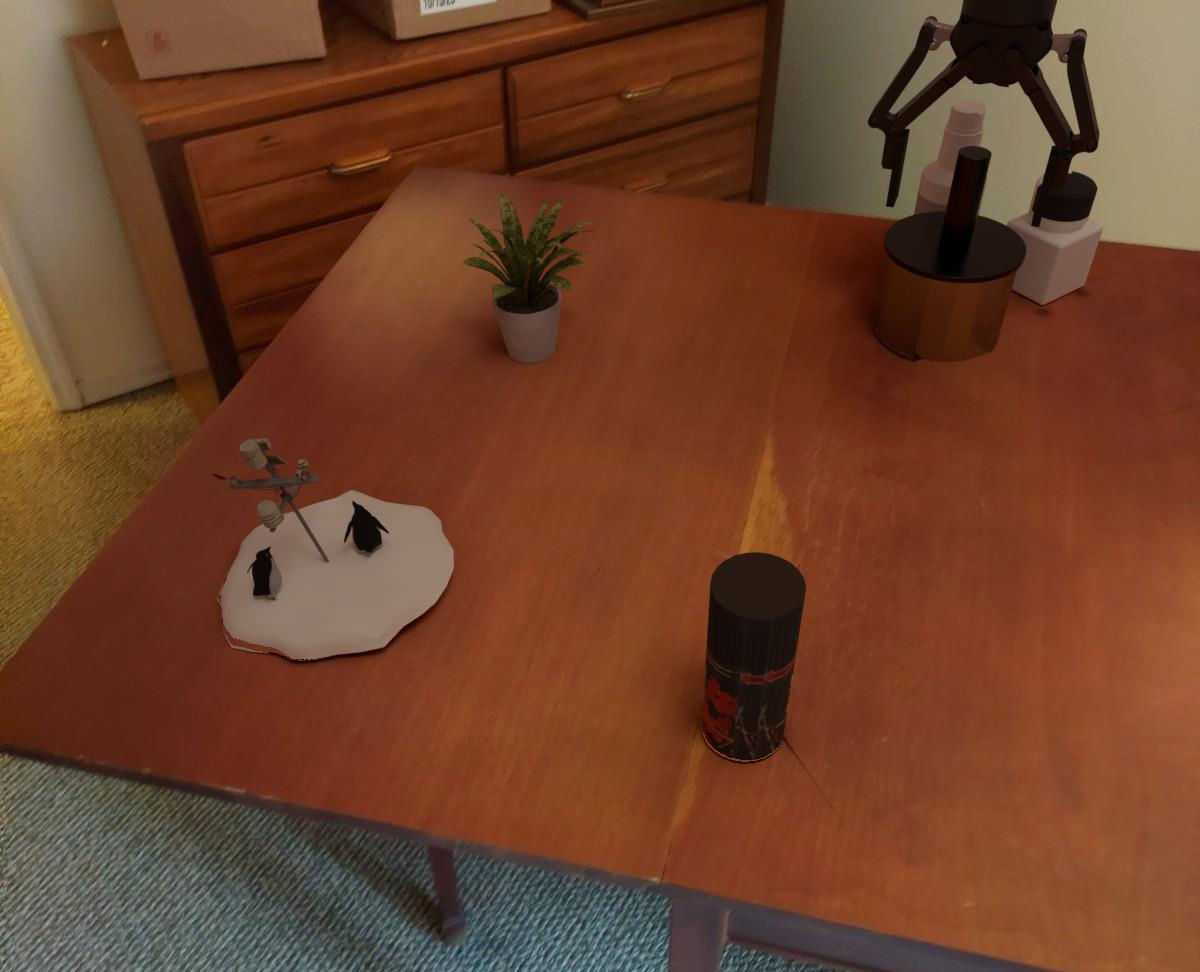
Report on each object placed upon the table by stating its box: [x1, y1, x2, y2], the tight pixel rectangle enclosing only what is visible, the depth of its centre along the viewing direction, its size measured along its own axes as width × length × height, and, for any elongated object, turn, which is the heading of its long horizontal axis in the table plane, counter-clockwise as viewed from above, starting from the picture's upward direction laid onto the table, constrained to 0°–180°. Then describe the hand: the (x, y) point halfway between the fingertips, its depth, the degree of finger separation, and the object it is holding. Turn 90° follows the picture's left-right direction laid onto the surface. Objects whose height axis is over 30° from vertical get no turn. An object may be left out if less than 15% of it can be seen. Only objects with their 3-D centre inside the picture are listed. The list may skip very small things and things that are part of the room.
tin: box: [873, 253, 1017, 363], centre depth 109 cm, size 13×13×10 cm
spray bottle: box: [913, 99, 988, 215], centre depth 115 cm, size 7×7×18 cm
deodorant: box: [701, 551, 807, 765], centre depth 72 cm, size 6×6×15 cm
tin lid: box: [883, 146, 1026, 283], centre depth 102 cm, size 14×14×10 cm
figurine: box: [210, 437, 455, 661], centre depth 83 cm, size 20×18×16 cm
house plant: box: [461, 190, 598, 364], centre depth 106 cm, size 14×14×16 cm
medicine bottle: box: [1006, 170, 1104, 306], centre depth 114 cm, size 7×7×12 cm
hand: (962, 210), depth 103 cm, fingers open, 13 cm apart
